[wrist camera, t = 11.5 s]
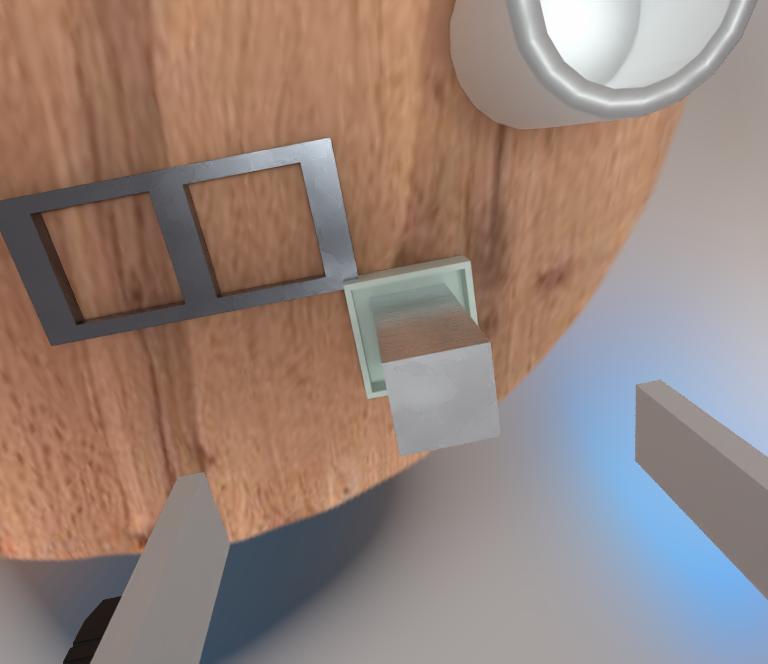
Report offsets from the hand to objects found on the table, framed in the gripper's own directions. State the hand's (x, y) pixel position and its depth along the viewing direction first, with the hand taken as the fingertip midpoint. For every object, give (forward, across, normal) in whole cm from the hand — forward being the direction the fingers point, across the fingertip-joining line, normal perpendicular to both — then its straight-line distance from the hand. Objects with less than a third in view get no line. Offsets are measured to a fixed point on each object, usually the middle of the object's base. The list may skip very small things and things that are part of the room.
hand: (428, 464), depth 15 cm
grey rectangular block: (+19, +2, -3) cm, 19 cm away
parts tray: (+19, +2, -3) cm, 20 cm away
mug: (+20, +12, +14) cm, 27 cm away
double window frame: (+20, -11, +5) cm, 23 cm away
